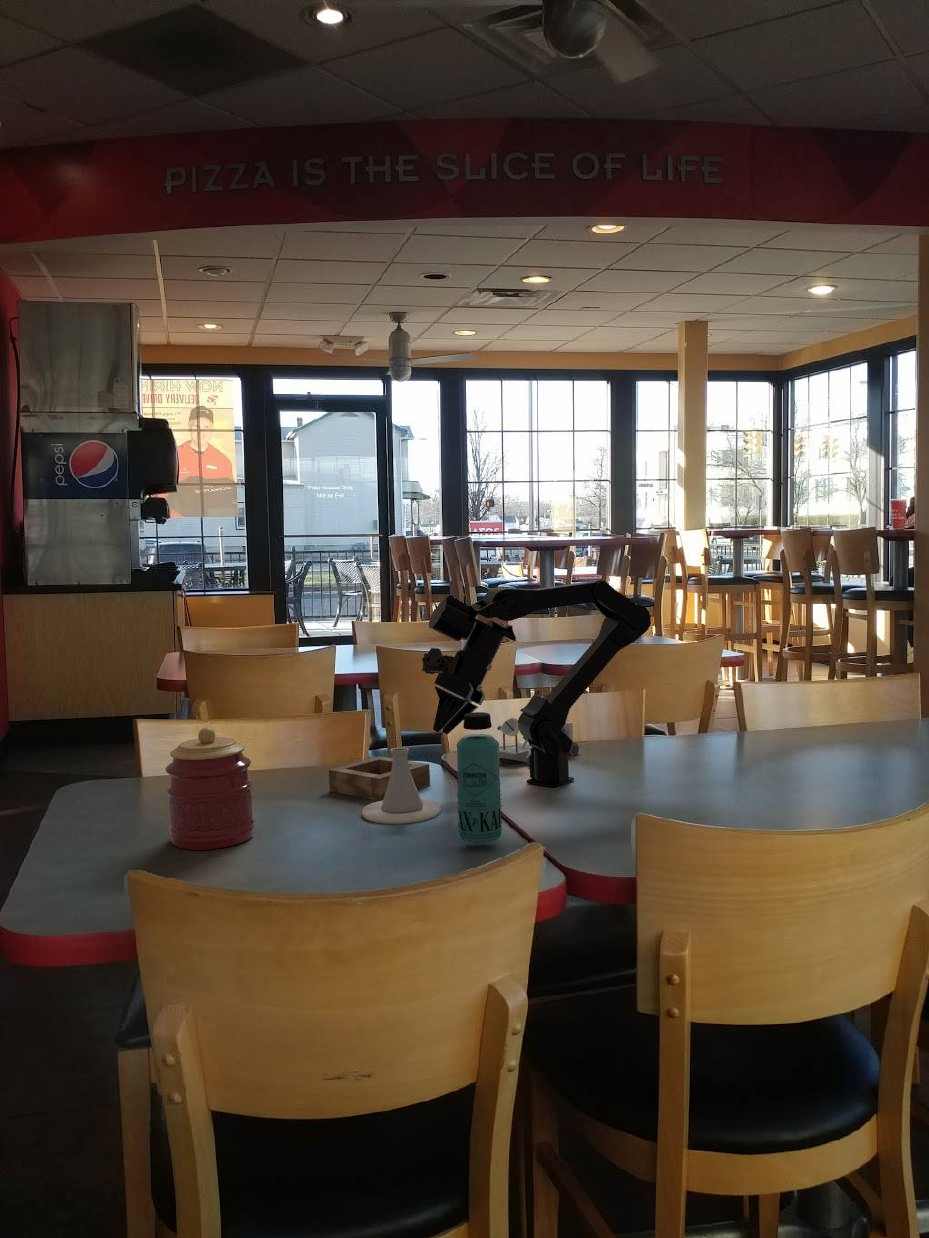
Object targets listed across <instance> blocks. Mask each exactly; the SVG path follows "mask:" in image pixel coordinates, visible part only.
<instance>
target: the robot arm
mask: <svg viewBox="0 0 929 1238" xmlns="http://www.w3.org/2000/svg"><path fill="white" fill-rule="evenodd" d="M588 603H589V604H590V603H592V605H593V606H594V607H595V608H596V610H597V611H598V613H600V614H601V615H602V616H603V617H605V618H604V619H603V621H602V624H601V627H600V630H599V633H598V636H596V638H595V640H594V641H593V642H591V644H590V645H589V647H588V648H587V649H586V650H585V651H584V653H582V655H581V656H580V657H579V659H578V660H577V661H576V662H575V663H574V664H573V666H571V668H570V669H569V670H568V672H567V673H566V674H565V675H564V676H563V677H562V679H561V680H560V681H559V682H558V683H557V684H556V686H554V687H553V689H552V690H551V691H550V692H549V693H548V694H546V695H545V696H541V695H538V694H533V695H532V697H531V698H530V700H529V701H528V703H527V704H526V705H525V706H524V707H523V708H520V710H519V711H520V712H521V714H520V715H519V716H518V718H517V720H518V728H519V733H520V734H521V736H522V737H523V736H524V737H525V738H527V741H528V743H529V745H530V746H533V747H534V748H531V755H530V756H529V764H530V767H529V777H530V778H528V779H526V782H525V783H526V784H533V785H537V786H544V787H549V788H556V787H559V786H562V785H564V784H567V783H570V782H573V781H574V780H575V777H574V776H573V777H572V776H570V774H569V773H570V771H569V769H570V768H569V755H568V752H570V749H571V746H572V742H574V740H573V741H572V740H571V739H570V738H569V737H568V736H567V735H566V734H565V733H563V732H562V731H561V730H562V729H563V727H564V725H565V723H566V722H567V720H568V716H569V713H570V710H571V708H572V707H573V706H574V704H576V703H577V701H578V699H580V698H581V696H582V695H583V694H584V693H585V691H587V689H588V688H589V687H590V686H591V685H592V683H593V682H594V681H595V680H596V678H597V677H598V676H599V675H600V674H601V672H603V670H604V669H605V668H606V666H607V665H608V664H609V663H610V662H611V660H612V659H613V658H615V656H616V655H617V654H618V652H620V651H621V650H622V649H624V648H626V647H628V646H629V645H631V644H633V643H635V642H636V641H637V640H638V639H640V638H641V637H642V636H643V635H644V634H645V633H646V632H647V631H649V628H650V627H651V624H652V620H651V618H652V617H651V614H650V611H649V609H648V608H647V607H645V606H644V605H643V604H638V603H634V601H633V600H632V599H629V597H626V596H625V595H624V594H622V593H621V592H619V591H618V590H616V589H615V588H614V587H612V586H611V585H610V584H609V582H608V581H605V580H600V579H589V580H588V581H582V582H574V583H568V584H560V585H554V586H553V585H552V586H547V587H540V588H515V587H513V588H512V587H493V588H490V589H488V590H487V591H486V593H485V594H484V596H483V599H480V600H479V601H476V602H474V603H472V604H471V605H469V604H466V603H464V601H463V602H462V601H460V600H459V599H458V598H456V597H455V596H453V595H452V594H447V593H446V594H445V595H444V597H443V599H442V600H440V602H439V603H438V605H437V606H436V608H434V609H433V610H432V612H431V614H430V615H431V616H430V618H429V622H428V627H429V628H430V629H431V630H433V631H435V632H437V633H438V634H440V635H443V636H445V637H447V638H449V639H451V640H453V641H454V642H459V641H461V640H462V639H463V640H466V642H465V644H464V646H463V648H462V650H461V649H459V650H457V651H456V653H455V656H452V655H451V656H450V655H446V654H444V655H443V653H442V649H440V648H438V647H437V648H436V647H430V649H429V651H427V653H423V657H421V661H422V670H421V672H424V673H425V674H431V675H434V674H437V676H436V678H435V680H434V683H433V684H435V686H434V690H435V691H436V693H437V694H436V695H437V696H438V704H437V710H436V713H435V718H434V723H433V726H432V730H433V731H434V732H437V733H440V732H441V731H442V733H443V734H446V735H449V734H450V733H451V732H452V731H453V730H455V728H457V727H458V726H459V725H460V724H461V723H462V722H464V715H465V714H467V713H474V712H475V711H476V710H477V709H478V708H479V706H482V704H483V703H484V700H485V698H486V695H485V692H484V690H483V689H482V688H483V686H482V684H483V683H484V680H485V678H486V676H487V674H488V672H491V670H492V668H493V665H492V663H493V661H494V659H495V658H496V655H497V653H498V651H499V649H500V647H501V645H502V643H503V641H504V638H505V639H506V640H507V641H513V642H515V641H516V640H517V637H516V634H515V632H514V629H513V628H514V627H513V626H512V625H510V624H506V625H501V624H499V623H497V622H495V621H494V620H499V621H503V622H511V621H515V620H517V619H521V618H523V617H526V616H528V615H531V614H533V613H535V612H537V611H541V610H548V609H553V608H560V607H568V606H575V605H582V604H588ZM477 617H479V618H485V619H494V620H488V621H487V622H484V621H482V620H479V619H477ZM436 685H437V686H436ZM438 686H439V687H438ZM473 703H475V704H473ZM476 704H477V705H476ZM478 705H479V706H478Z"/></svg>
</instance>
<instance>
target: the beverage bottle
mask: <svg viewBox="0 0 929 1238" xmlns="http://www.w3.org/2000/svg"><path fill="white" fill-rule="evenodd" d="M462 727H463V729H464V730H470V731H480V730H488V729H491V728H492V720H491V714H490V713H489V712H482V711H481V712H480V711H478V712H477V711H476V712H475V711H473V712H472V713H467V714H465V715H464V720H463V724H462ZM499 749H500V743H499V741H498V740H497V739H496V738H495V737H493V735H491V734H489V733H471V734H466V735H463V736H462V737H461V738H460V739H459V740H458V742H457V743H456V750H457V751H456V754H457V755H456V756H457V758H456V759H457V775H456V782H457V789H456V796H457V802H456V803H457V805H458V806H457V807H456V808H457V811H458V826H457V829H458V835H459V837H460V838H459V839H460V840H461V841H462V842H466V843H471V844H483V843H484V844H485V843H492V842H494V841H497V840H499V839H500V838H501V835H502V833H503V832H502V831H503V828H502V827H503V821H502V818H503V816H502V815H503V814H502V813H503V812H502V804H501V803H502V798H501V795H502V792H501V785H502V783H501V779H500V778H501V777H500V775H501V774H500V757H499Z"/></svg>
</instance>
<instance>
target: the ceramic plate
mask: <svg viewBox="0 0 929 1238" xmlns="http://www.w3.org/2000/svg"><path fill="white" fill-rule="evenodd" d="M421 801H422V803H423V807H422V809H418V810H414V811H410V812H394V813H390V812H387V811H384V810H381V807H382V803H383V800H382V801H375V802H372V803H369V804H367V805H365V806H364V807H363V808H362V810H361V812H362V818H364V820H365V821H368V822H371V823H377V824H383V825H385V824H386V825H403V824H413V823H418V822H425V821H427V820H428V821H429V820H430V819H433V818H436V817H437V816H438V815H440V813H441V805H440V803H439V802H436V801H435V800H430V799H426V798H421Z"/></svg>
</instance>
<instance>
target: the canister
mask: <svg viewBox="0 0 929 1238" xmlns="http://www.w3.org/2000/svg"><path fill="white" fill-rule="evenodd" d="M197 735H198V737H197V738H195V739H190V740H185V741H182V742H181V743H179V745H178V746H177V747H176V748H174V749H173V750H171V751H170V753H169V755H170V757H171V758H172V762H170V763H168V765H167V766H166V767H165V772H166V773H167V774H168V775H169V776H168V777H169V785H168V786H167V788H166V794H167V795H168V809H169V811H168V812H169V827H168V830H169V838H171V843H172V845H173V846H175V847H177V848H179V849H184V850H192V851H194V850H195V851H199V850H200V851H207V850H216V849H222V848H224V849H225V848H228V847H233V846H235V845H239V844H242V843H244V842H246V841H249V840H250V839H251V838H252V837H253V835H254V829H255V817H254V811H253V796H252V795H253V793H252V785H253V780H251V778H250V776H249V767H250V765H251V764H252V761H251V759H250V758H249V757H247V756H245V755H244V753H243V752H244V750H245V749H246V748H245V747H246V746H245V745H244V744H242V743H240V742H238V741H236V739H234V738H231V737H225V736H224V737H223V736H222V737H221V736H220V737H219V736H216V732H215V730H214V729H213V728H211V727H204V728H201V729H200V730H199V731H198V734H197Z"/></svg>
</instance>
